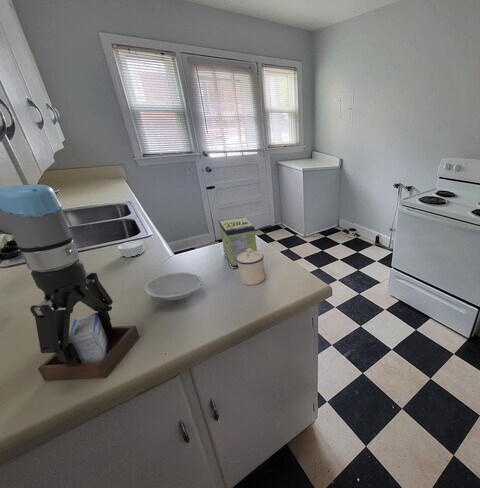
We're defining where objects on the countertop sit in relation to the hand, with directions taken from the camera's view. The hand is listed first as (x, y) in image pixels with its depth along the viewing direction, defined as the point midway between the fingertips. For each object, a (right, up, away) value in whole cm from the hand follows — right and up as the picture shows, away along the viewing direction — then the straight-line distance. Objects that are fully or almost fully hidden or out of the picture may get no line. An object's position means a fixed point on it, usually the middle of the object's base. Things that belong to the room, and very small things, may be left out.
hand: (93, 350), depth 62 cm
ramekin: (-29, +20, +53) cm, 64 cm away
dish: (+7, +7, +23) cm, 25 cm away
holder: (0, -2, +1) cm, 2 cm away
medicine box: (0, -1, +1) cm, 2 cm away
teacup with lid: (+27, +12, +35) cm, 46 cm away
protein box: (+19, +18, +49) cm, 56 cm away
